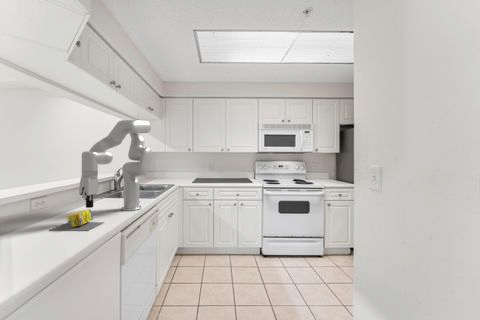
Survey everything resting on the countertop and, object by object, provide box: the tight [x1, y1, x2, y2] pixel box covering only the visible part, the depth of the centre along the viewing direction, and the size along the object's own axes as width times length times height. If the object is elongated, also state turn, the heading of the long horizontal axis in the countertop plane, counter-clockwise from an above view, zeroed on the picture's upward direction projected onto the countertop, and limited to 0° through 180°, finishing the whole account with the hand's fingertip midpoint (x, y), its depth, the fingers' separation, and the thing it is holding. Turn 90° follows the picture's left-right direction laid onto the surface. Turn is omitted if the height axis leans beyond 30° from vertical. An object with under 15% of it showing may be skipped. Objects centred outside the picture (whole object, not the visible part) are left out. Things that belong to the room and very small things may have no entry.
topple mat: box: [49, 221, 105, 232], centre depth 125 cm, size 14×19×1 cm
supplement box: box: [66, 208, 94, 228], centre depth 127 cm, size 6×6×11 cm
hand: (89, 207), depth 134 cm, fingers closed
